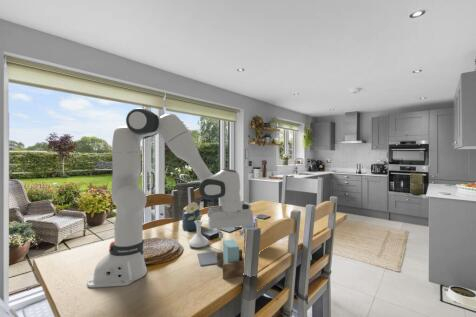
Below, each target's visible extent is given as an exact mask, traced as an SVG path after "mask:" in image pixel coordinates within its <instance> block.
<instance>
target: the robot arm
mask: <svg viewBox="0 0 476 317" xmlns="http://www.w3.org/2000/svg"><path fill="white" fill-rule="evenodd" d="M125 124H126V125H124V126H119V127H117V128H116V129H114V132H113V136H112V140H111V142H112V143H111V145H112V146H111V156H112V157H111V159H112V160H111V161H112V163H111V164H112V178H111V196H110V197H111V201H112V203H113V205H115V208H116V210H115V211H116V214H115V221H114V226H113V227H114V229H113V230H114V233H113V234H114V240H113V241H111V242H110V243H109V244H110V245H109V248H108V249H109V250H108V254H107V255H105V256H104V257H102V258H101V259H100V260H99V261H98V262H97V264H96V266H95V268H94V272H93V273H91V275H90V276H89V277H88V280H87V287H88V288H104V287H105V288H107V287H125V286H129V285H131V284H132V283H134V282H135V281H138V280H139V279H141V278H143V277H144V276H145V275H147V273H148V269H147V266H146V262H145V261H146V260H145V256H144V253H145V242H144V241H145V240H144V239H143V236H144V235H143V234H144V233H143V222H144V214H145V209H146V208H145V207H146V205H147V202H148V201H147V200H148V198H147V195H146V193H145V191H144V190H143V188H141V187H139V182H140V174H141V172H142V161H141V160H142V159H141V158H142V156H141V155H142V154H141V151H142V150H141V142H142V140H145V139H148V138H152V137H155V136H157V135H159V136H160V137H161V138H162V139H163V141H164V142H165V144H166V146H167V147H168V149H169V150H170V151H171V152H172V153H173V154H174V155H175V156H176V157H177V158H178V159H180V160H183V161H185V162H186V163H187V164H188V165H189V167H191V169H192V171H193V172H194V173H195V175H196V176H197V178H198V180H199V185H198V193H199V195H200V196H201V197H202V199H204V200H208V201H209V200H216V199H219V198H220V206H211V207H210V208H209V209H208V210H207V217H208V221H207V226H208V228H209V229H210V230H216V231H217V233H218V238H219V239H222V238H223V239H224V233H223V232H221V229H224V228H233V227H242V228H241V229H240V230H239V236H244V230H245V228H246V225H252V224H253V222H254V220H253V216H254V213H253V211H252V205H251V204H250V203H249V202H247V201H243V200H241V195H240V192H241V191H240V190H241V181H240V174H239V173H238V171H237V170H233V169H229V168H222V169H221V170H219V171H218V172H217V173H215V174H214V173H213V172H212V171H211V170H210V168H209V167H208V165H207V164H206V163H205V162H204V160H203V158H202V157H201V154H200V152H199V149H198V148H197V145H196V142H195V139H194V138H193V136H192V134H191V132H190V131H189V130H188V128H187V126H186V125H185V123H184V122H183V121H182V120H181V118H179V117H178V116H177V115H176V114H174V113H166V114H163V115H161V116H158V114H156V113H155V112H153V111H151V110H149V109H146V108H143V107H141V108H140V107H137V108H134V109H131V110H130V111H129V112H128V113H127V115H126V118H125Z"/></svg>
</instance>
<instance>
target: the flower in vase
mask: <svg viewBox="0 0 476 317" xmlns="http://www.w3.org/2000/svg"><path fill="white" fill-rule="evenodd" d="M185 207H187V208H186V209H185V211H186V213H192V212H193V213H194V211H196V210H197V208H198V207H199V205H198V203H197V202H196V201H193V202H190V203H189V204H187V205H186V206H185ZM194 217H195V215H194ZM194 217H193V216H191V217H189V218H188V219H187V220H193V219H194ZM202 217H203V214H200V216H198V217H197V219H200V218H201V220H197V219H196V217H195V219H196V221H194V222H195V224H196V228H197V230H196V233H195V235H194V236H193V237H192V238H191V239H190V240H189V241H188V246H190V247H192V248H198V249H199V248H203V247H206V246H208V245H209V243H210V241H209V239H208V238H207V237H206V236H204V235H203V234H202V232H201V230H202V224H203V222H204V220H202Z"/></svg>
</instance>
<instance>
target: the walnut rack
mask: <svg viewBox="0 0 476 317" xmlns="http://www.w3.org/2000/svg"><path fill="white" fill-rule="evenodd" d="M216 256H217V264H216V265H217V267H220V266H222V279H223V280H224V279H231V278H232V279H233V278H238V277H244V276H243V273H244V260H245V258H244V256H243V249H240V248H239V261H238V262H231V263H224V264H223V251H217V252H216Z"/></svg>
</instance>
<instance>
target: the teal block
mask: <svg viewBox="0 0 476 317" xmlns="http://www.w3.org/2000/svg"><path fill="white" fill-rule="evenodd" d="M239 250H240V246H239V244H238V243H237V242H236V241H235V240H234V239H227V240H226V239H225V240H223V241H222V252H223V264H224V263H231V262H238V261H239Z"/></svg>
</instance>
